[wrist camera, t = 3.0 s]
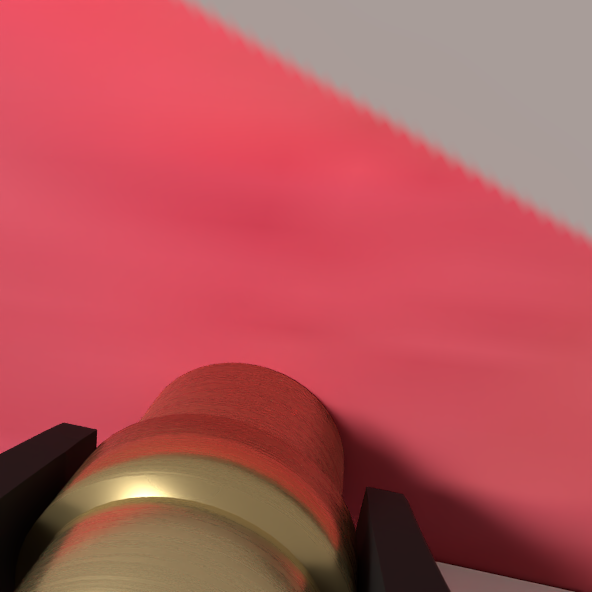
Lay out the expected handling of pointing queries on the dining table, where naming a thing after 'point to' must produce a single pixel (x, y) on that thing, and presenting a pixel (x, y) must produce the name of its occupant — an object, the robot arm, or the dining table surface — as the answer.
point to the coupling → (204, 497)
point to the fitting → (487, 581)
